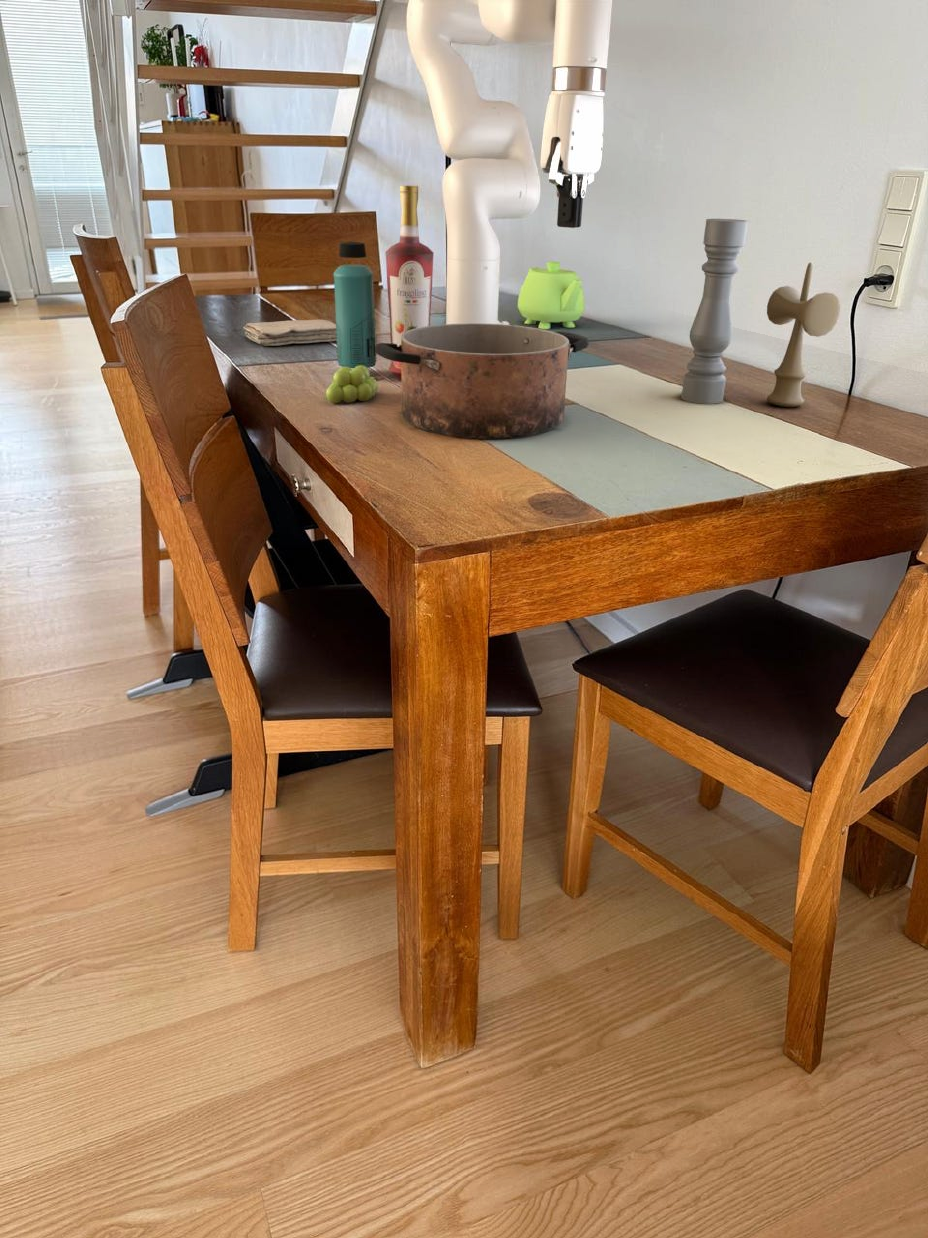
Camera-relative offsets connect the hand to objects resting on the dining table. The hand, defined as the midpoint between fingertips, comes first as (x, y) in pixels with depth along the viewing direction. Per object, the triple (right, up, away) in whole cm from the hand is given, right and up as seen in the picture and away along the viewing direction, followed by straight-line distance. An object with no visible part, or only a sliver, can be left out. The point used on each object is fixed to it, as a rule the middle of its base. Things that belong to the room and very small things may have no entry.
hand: (568, 226), depth 137 cm
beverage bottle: (-33, -19, +13) cm, 40 cm away
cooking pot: (-13, -31, -9) cm, 35 cm away
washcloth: (-48, -5, +39) cm, 62 cm away
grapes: (-32, -26, -1) cm, 41 cm away
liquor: (-24, -19, +12) cm, 33 cm away
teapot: (+3, +4, +60) cm, 60 cm away
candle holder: (+21, -25, +3) cm, 33 cm away
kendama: (+32, -27, +1) cm, 42 cm away
